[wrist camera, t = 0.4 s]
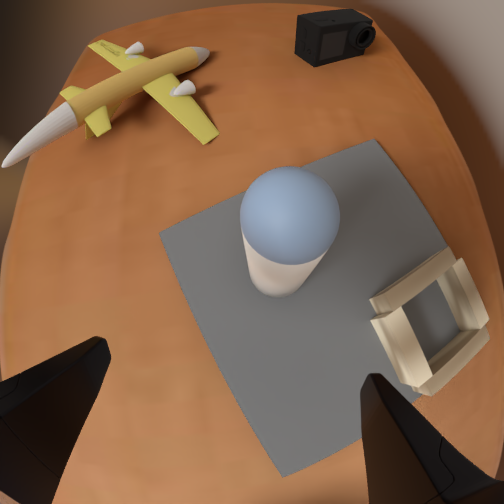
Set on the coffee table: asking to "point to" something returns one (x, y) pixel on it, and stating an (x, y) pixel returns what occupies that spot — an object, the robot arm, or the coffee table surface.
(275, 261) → the blue-domed white cylinder
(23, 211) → the coffee table surface
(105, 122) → the toy airplane
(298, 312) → the jig board
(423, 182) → the coffee table surface
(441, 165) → the coffee table surface
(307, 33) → the digital camera
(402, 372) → the cradle
